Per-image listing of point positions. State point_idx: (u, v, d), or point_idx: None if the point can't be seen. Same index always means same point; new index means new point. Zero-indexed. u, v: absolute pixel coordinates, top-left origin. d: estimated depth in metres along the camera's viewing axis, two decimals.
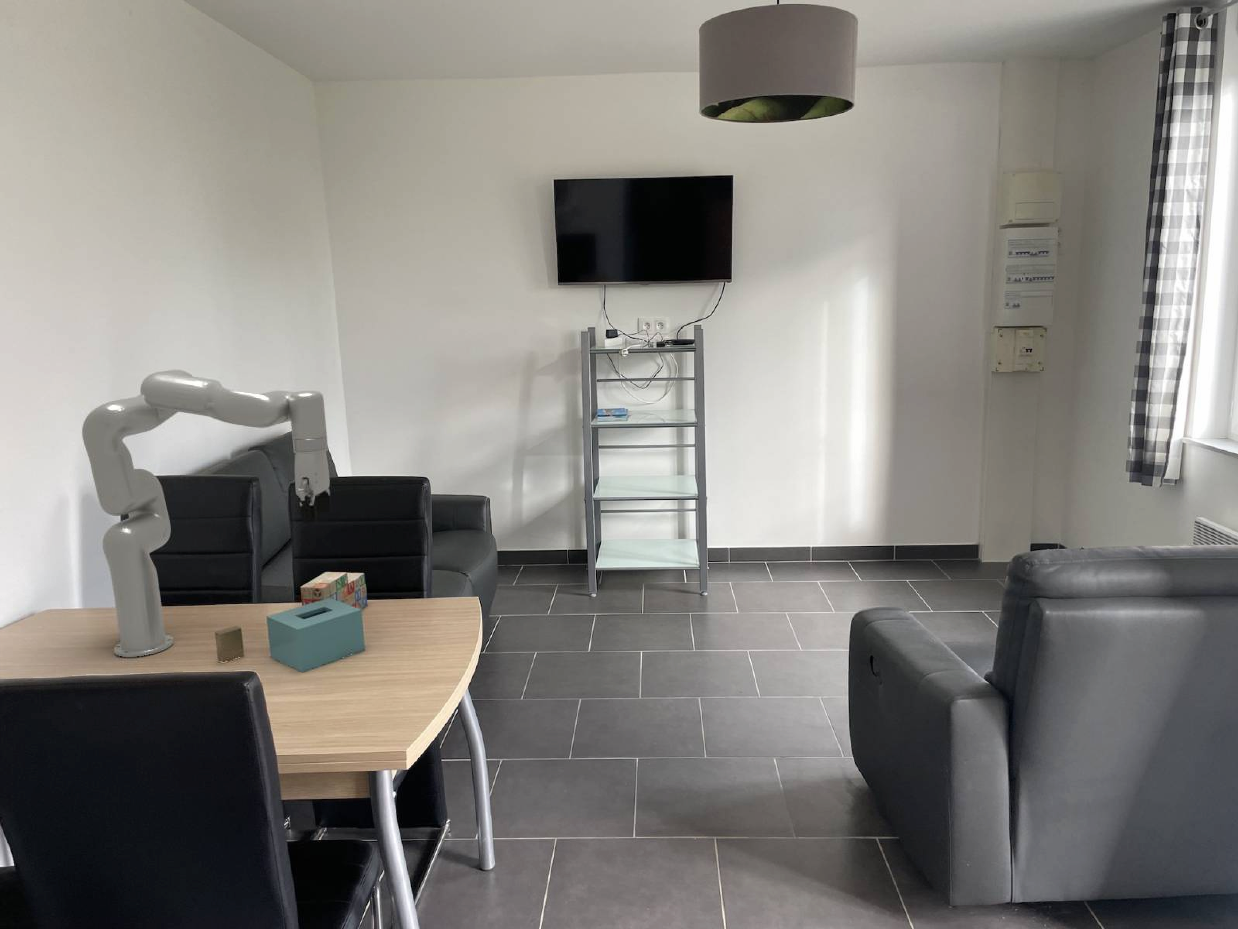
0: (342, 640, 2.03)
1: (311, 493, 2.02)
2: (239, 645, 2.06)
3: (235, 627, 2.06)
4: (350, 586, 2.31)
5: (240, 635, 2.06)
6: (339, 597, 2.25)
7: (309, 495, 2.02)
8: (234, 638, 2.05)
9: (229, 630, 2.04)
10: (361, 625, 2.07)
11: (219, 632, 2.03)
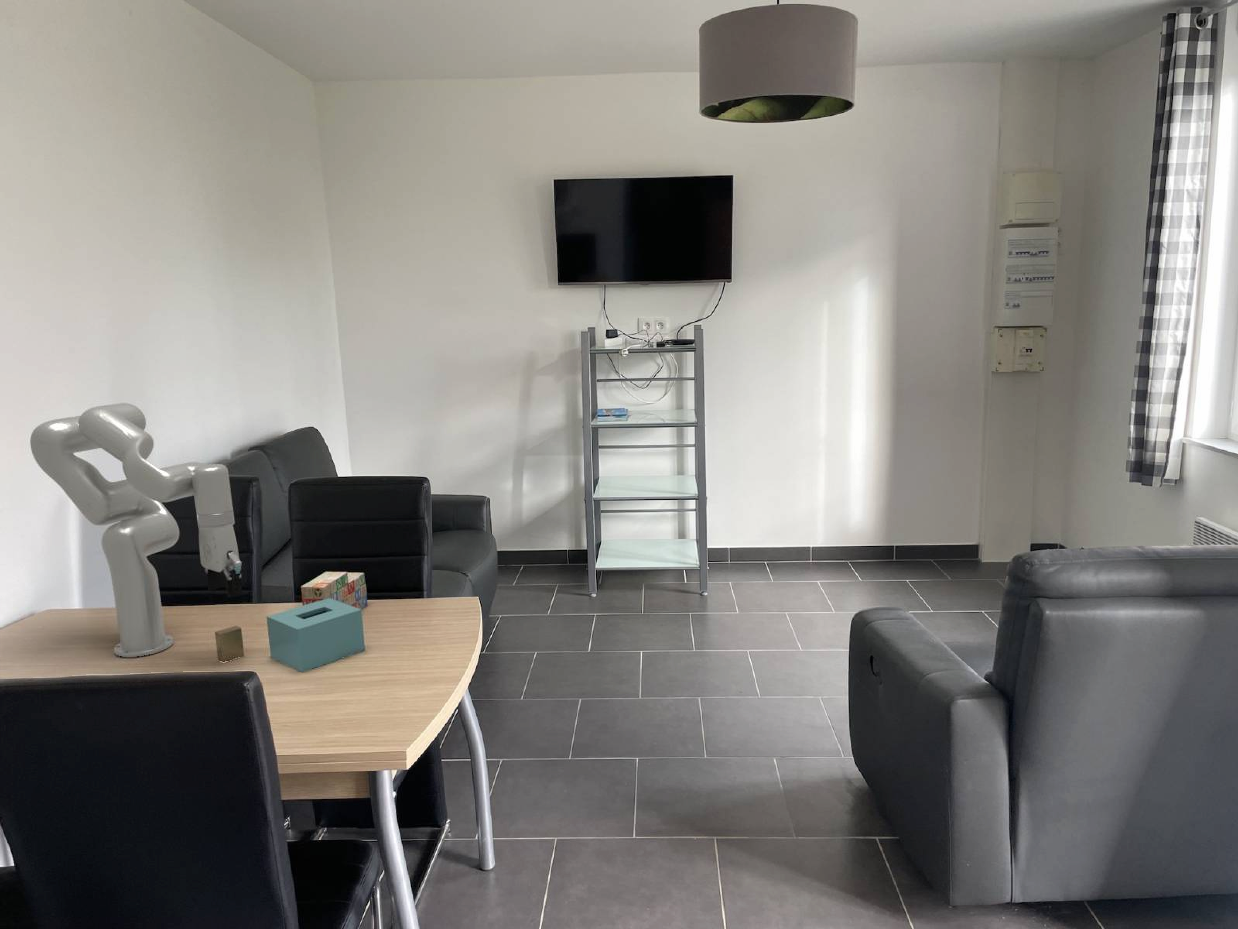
0: (342, 640, 2.03)
1: None
2: (239, 645, 2.06)
3: (235, 627, 2.06)
4: (350, 586, 2.31)
5: (240, 635, 2.06)
6: (340, 596, 2.26)
7: (232, 568, 1.99)
8: (234, 638, 2.05)
9: (229, 630, 2.04)
10: (361, 625, 2.07)
11: (219, 632, 2.03)
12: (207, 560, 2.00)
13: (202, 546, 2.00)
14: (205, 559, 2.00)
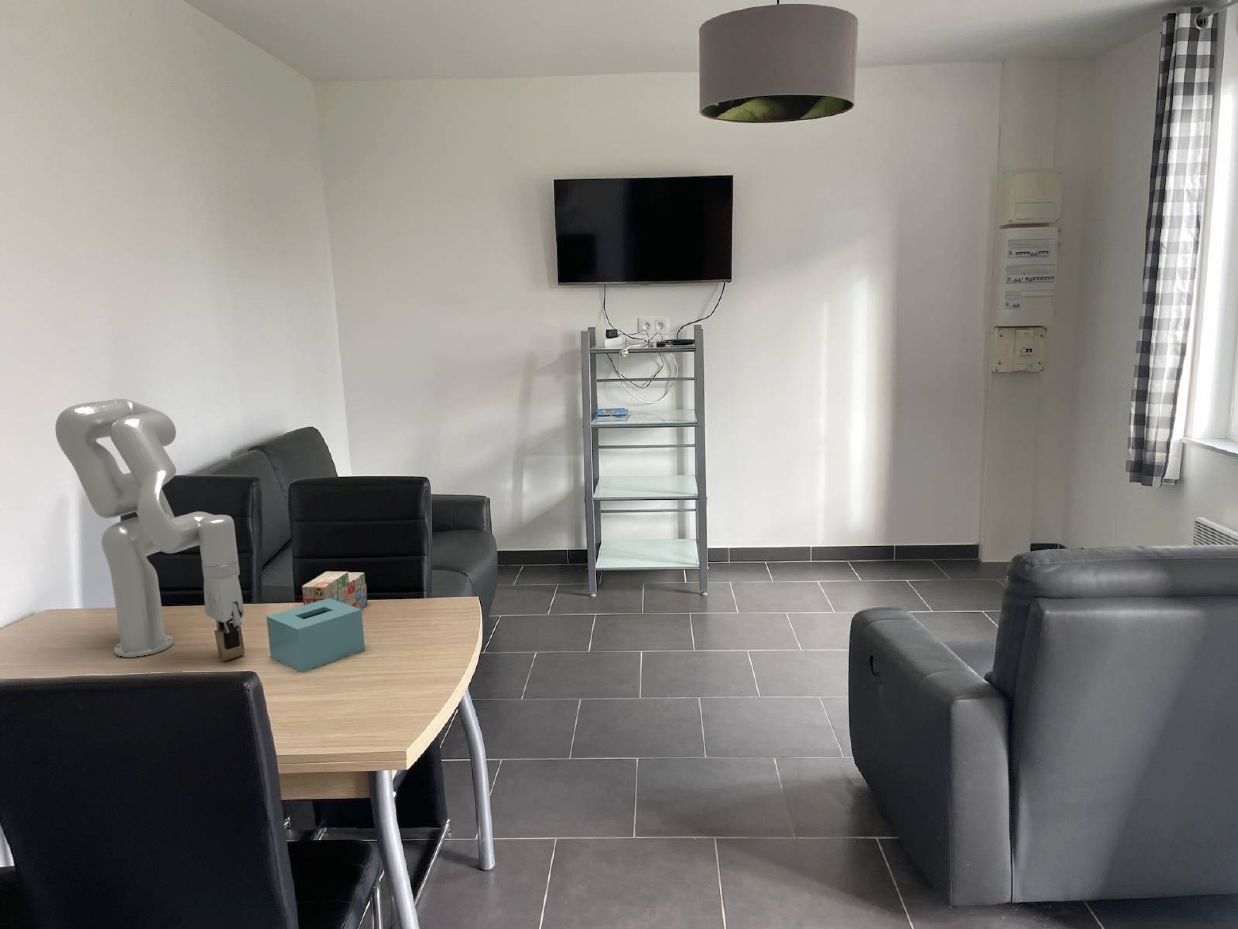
0: (342, 640, 2.03)
1: None
2: None
3: None
4: (351, 585, 2.32)
5: (240, 633, 2.06)
6: (340, 596, 2.26)
7: None
8: None
9: None
10: (361, 625, 2.07)
11: (218, 631, 2.03)
12: (211, 610, 2.02)
13: (207, 596, 2.03)
14: (210, 609, 2.02)
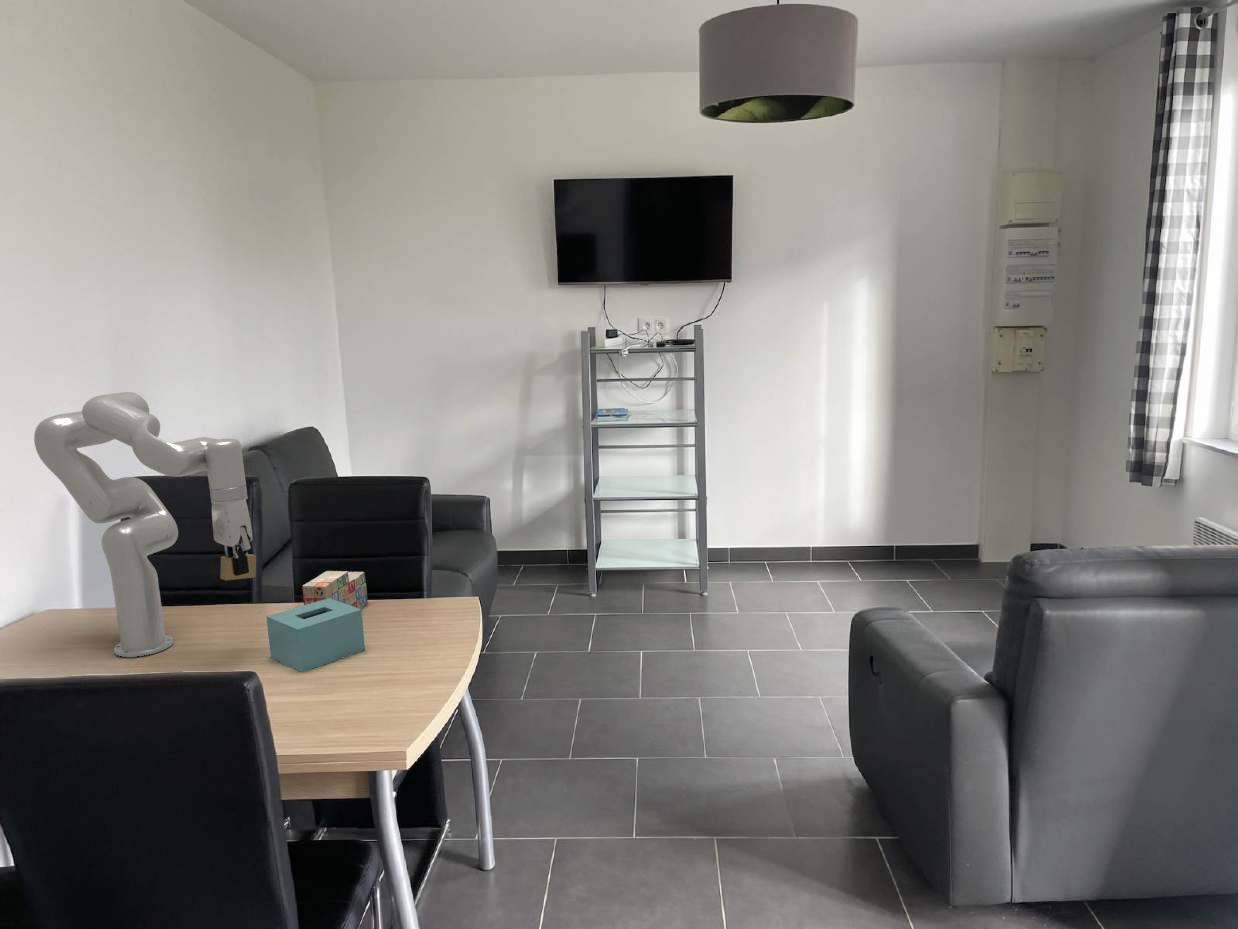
0: (342, 640, 2.03)
1: None
2: None
3: (222, 559, 2.00)
4: (351, 585, 2.32)
5: None
6: (341, 596, 2.26)
7: None
8: None
9: (223, 568, 1.99)
10: (361, 625, 2.07)
11: (222, 577, 2.00)
12: (220, 535, 1.99)
13: (215, 521, 2.00)
14: (218, 534, 2.00)
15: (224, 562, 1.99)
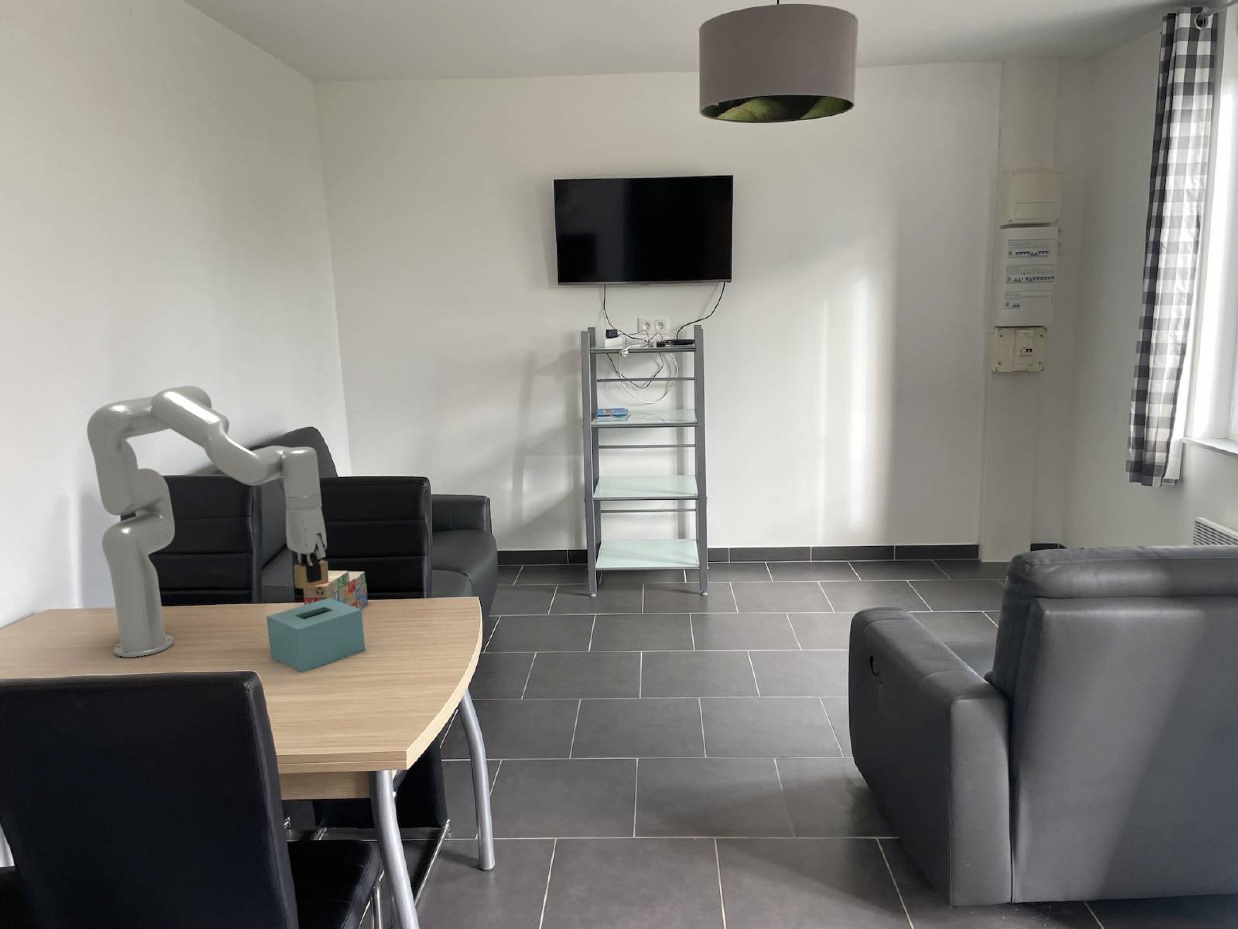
0: (342, 640, 2.03)
1: None
2: None
3: (295, 568, 2.01)
4: (351, 584, 2.33)
5: (306, 567, 2.01)
6: (341, 595, 2.27)
7: None
8: None
9: (297, 576, 2.01)
10: (361, 625, 2.07)
11: (297, 585, 2.01)
12: (294, 542, 2.00)
13: (289, 528, 2.01)
14: (292, 541, 2.01)
15: (298, 571, 2.00)
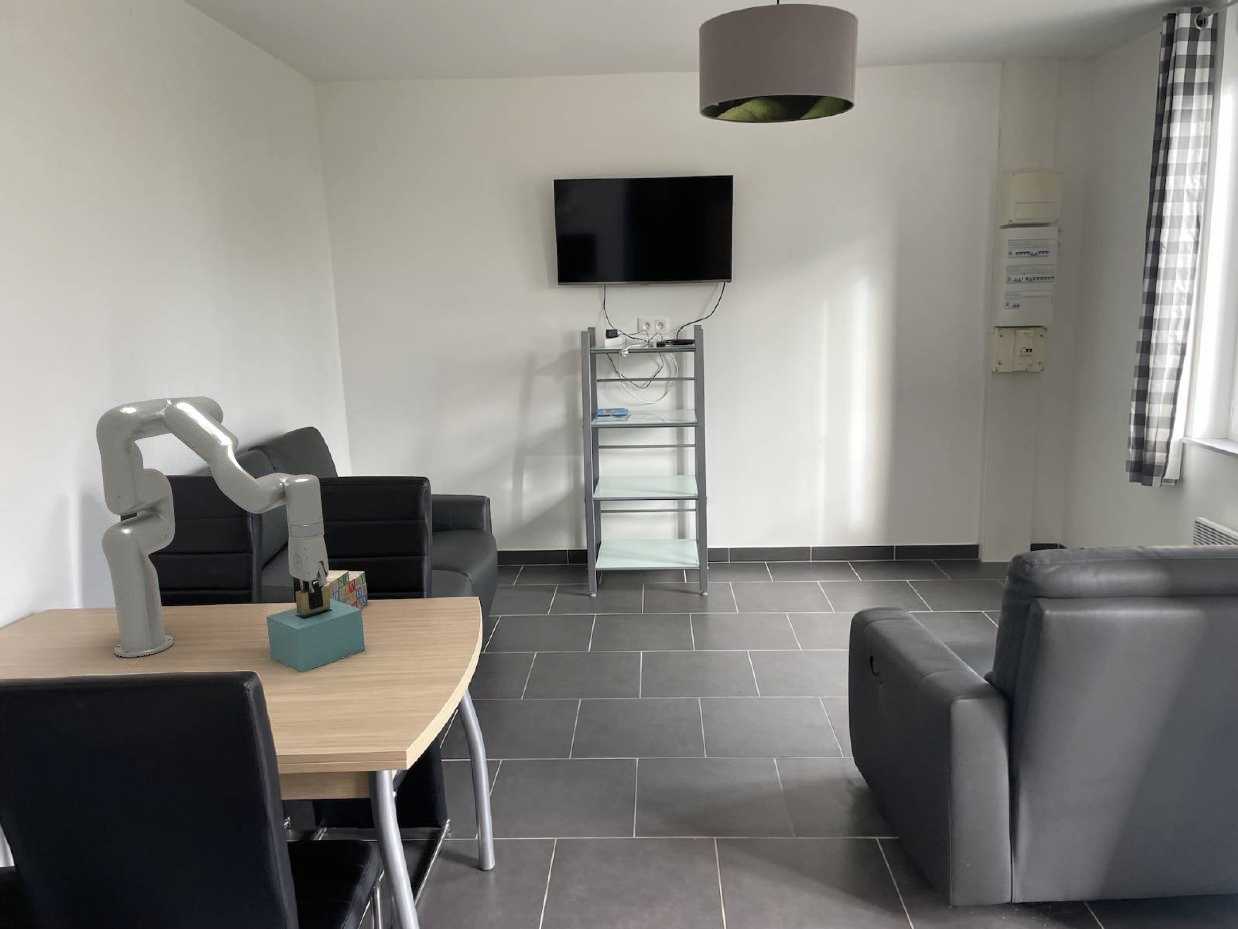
0: (342, 640, 2.03)
1: None
2: None
3: (297, 594, 2.02)
4: (351, 584, 2.33)
5: (308, 593, 2.02)
6: (341, 595, 2.27)
7: None
8: None
9: (299, 603, 2.02)
10: (361, 625, 2.07)
11: (299, 611, 2.02)
12: (297, 570, 2.02)
13: (292, 555, 2.02)
14: (295, 568, 2.02)
15: (300, 597, 2.02)
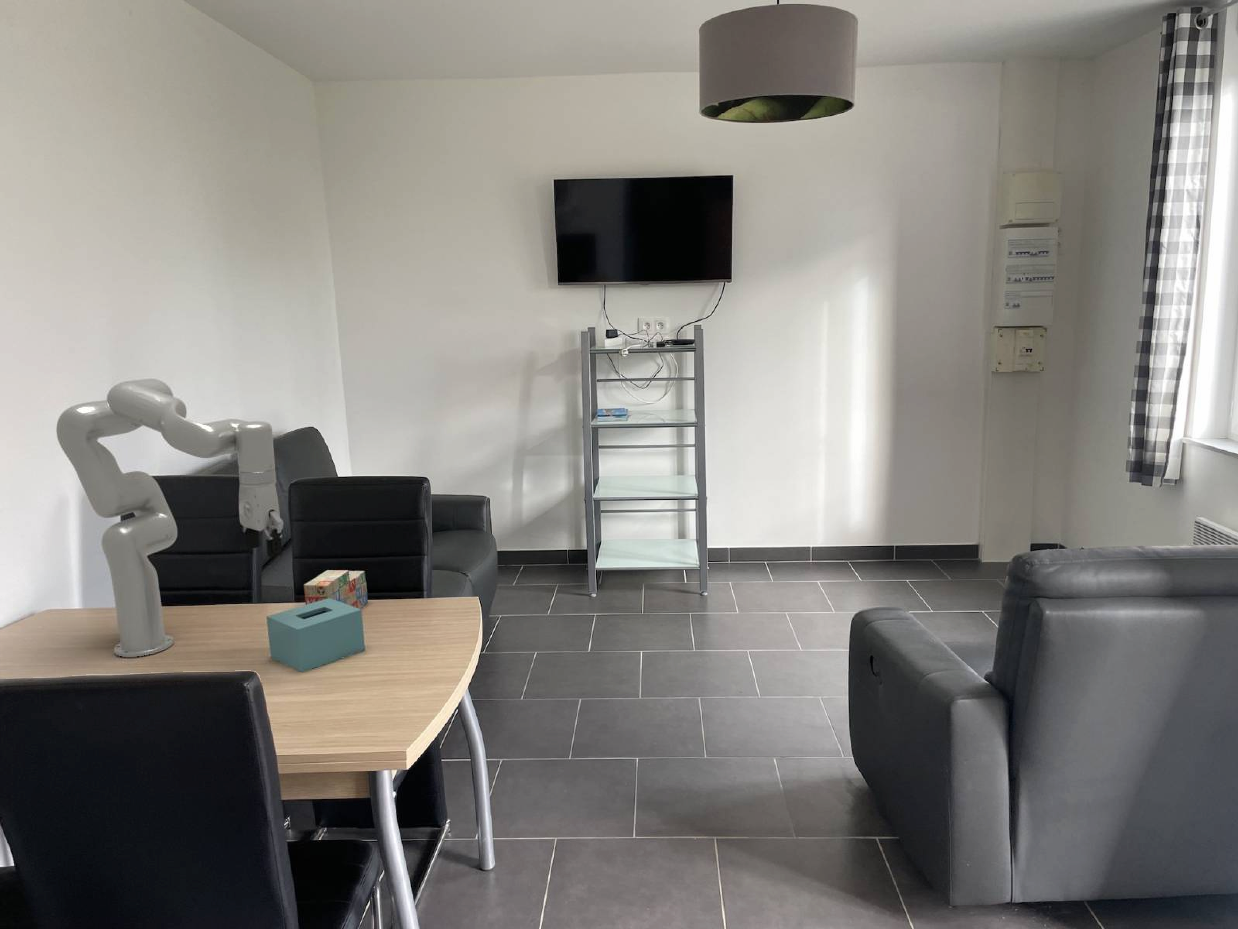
0: (342, 640, 2.03)
1: None
2: None
3: None
4: (352, 584, 2.33)
5: None
6: (342, 594, 2.27)
7: (272, 528, 1.97)
8: None
9: None
10: (361, 625, 2.07)
11: None
12: (247, 519, 1.97)
13: (242, 504, 1.98)
14: (245, 517, 1.98)
15: None
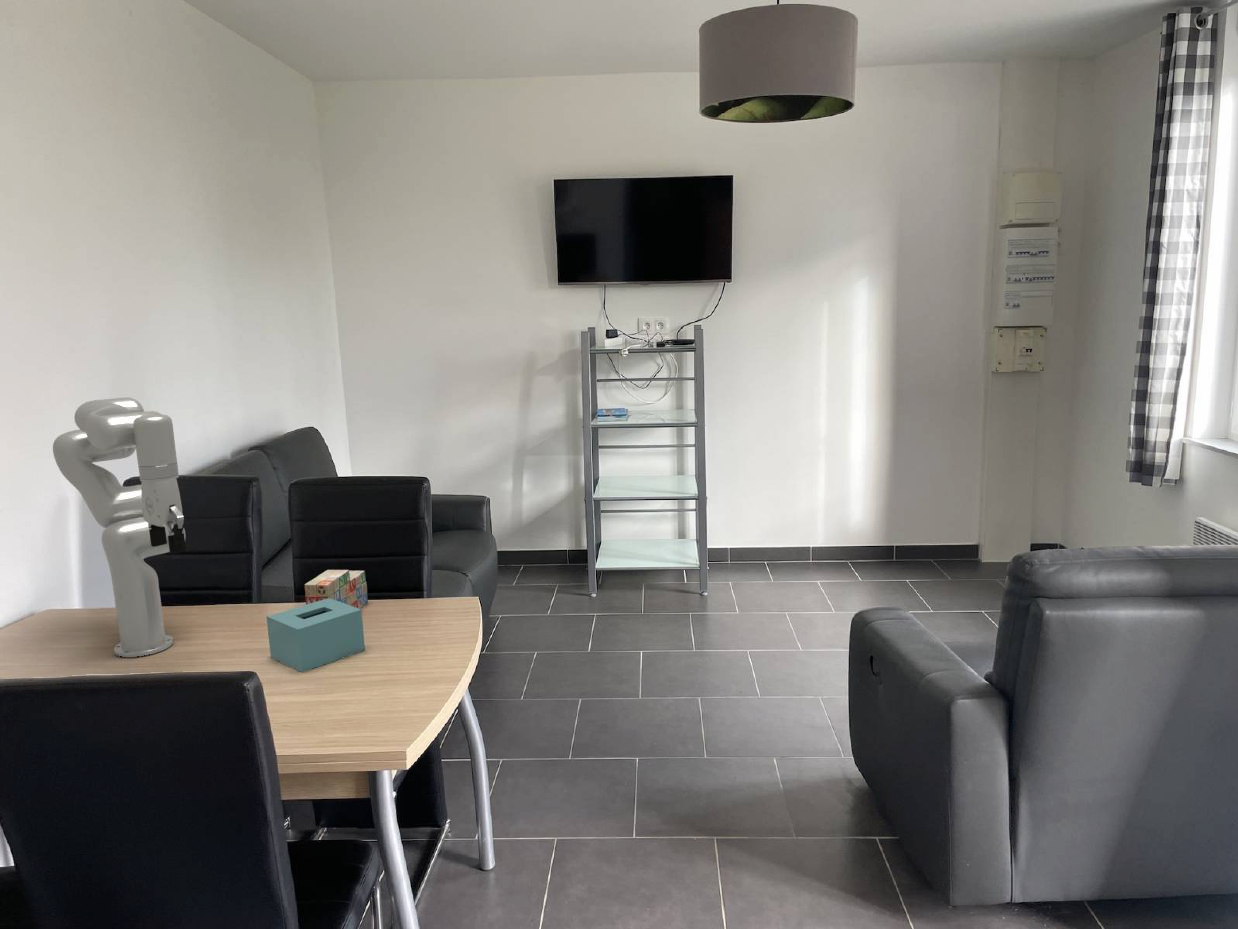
0: (342, 640, 2.03)
1: None
2: None
3: None
4: (352, 583, 2.33)
5: None
6: (342, 594, 2.28)
7: (174, 523, 1.91)
8: None
9: None
10: (361, 625, 2.07)
11: None
12: (149, 514, 1.92)
13: (144, 500, 1.92)
14: (147, 513, 1.92)
15: None
